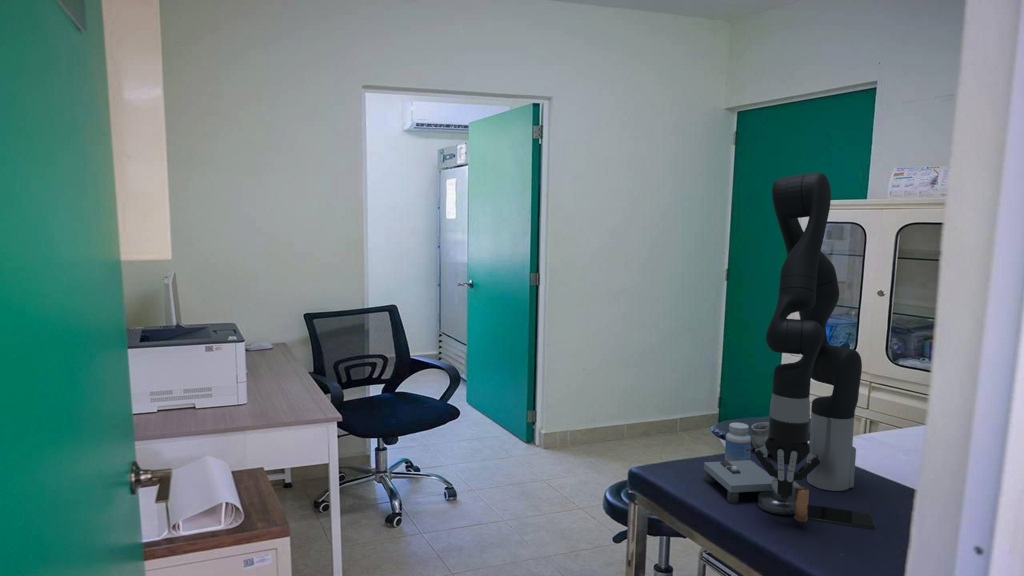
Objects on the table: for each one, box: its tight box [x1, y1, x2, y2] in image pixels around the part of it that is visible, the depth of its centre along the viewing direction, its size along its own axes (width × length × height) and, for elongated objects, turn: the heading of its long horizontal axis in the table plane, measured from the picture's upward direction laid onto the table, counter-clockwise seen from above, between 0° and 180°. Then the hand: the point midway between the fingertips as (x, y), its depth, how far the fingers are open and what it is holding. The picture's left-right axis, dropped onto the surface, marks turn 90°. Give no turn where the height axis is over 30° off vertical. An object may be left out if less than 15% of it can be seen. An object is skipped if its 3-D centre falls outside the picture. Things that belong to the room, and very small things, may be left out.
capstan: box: [757, 476, 810, 523], centre depth 143 cm, size 14×8×8 cm, turn 0°
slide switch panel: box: [703, 459, 775, 505], centre depth 156 cm, size 12×14×6 cm
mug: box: [750, 421, 771, 456], centre depth 179 cm, size 10×12×10 cm
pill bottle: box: [724, 422, 752, 461], centre depth 169 cm, size 6×6×11 cm
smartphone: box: [807, 503, 876, 530], centre depth 143 cm, size 7×1×15 cm
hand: (784, 496), depth 140 cm, fingers closed
